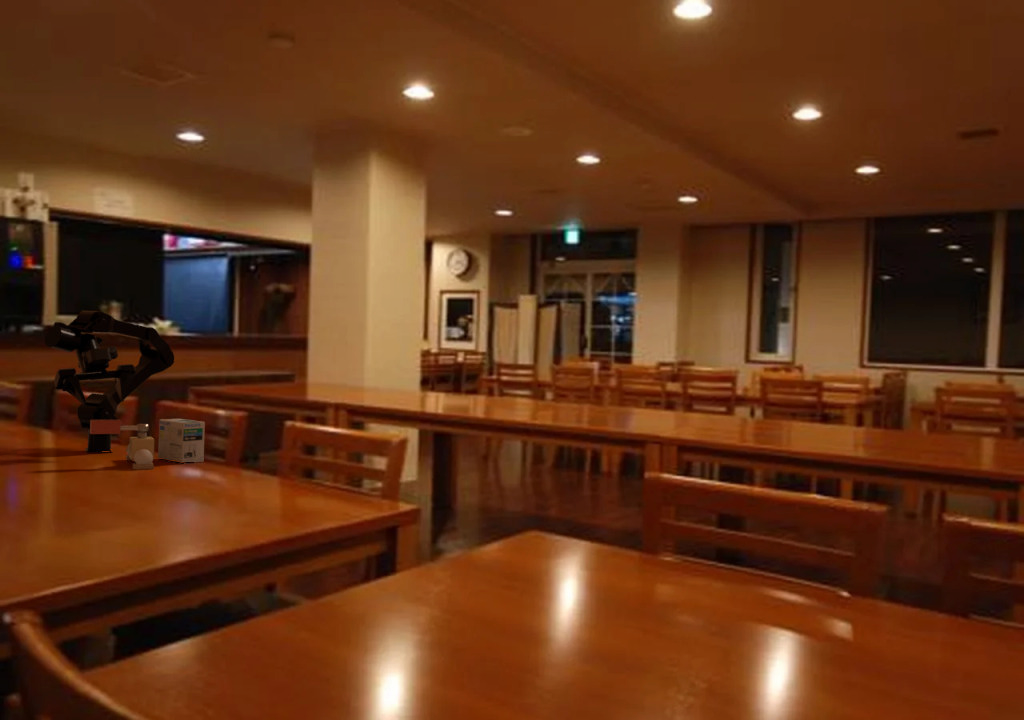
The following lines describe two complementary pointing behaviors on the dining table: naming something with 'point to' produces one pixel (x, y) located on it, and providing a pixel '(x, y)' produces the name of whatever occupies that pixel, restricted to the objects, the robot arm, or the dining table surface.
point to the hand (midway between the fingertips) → (104, 402)
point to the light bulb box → (181, 440)
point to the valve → (141, 451)
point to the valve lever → (113, 427)
